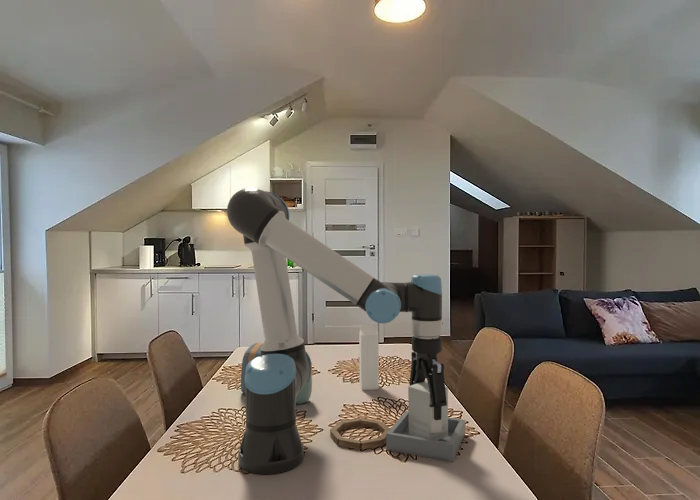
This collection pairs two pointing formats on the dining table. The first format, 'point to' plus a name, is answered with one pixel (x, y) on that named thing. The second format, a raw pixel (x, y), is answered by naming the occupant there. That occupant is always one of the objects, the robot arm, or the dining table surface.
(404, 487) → the dining table surface
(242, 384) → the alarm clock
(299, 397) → the cup
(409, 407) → the supplement box
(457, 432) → the bin
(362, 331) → the milk
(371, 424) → the ring
